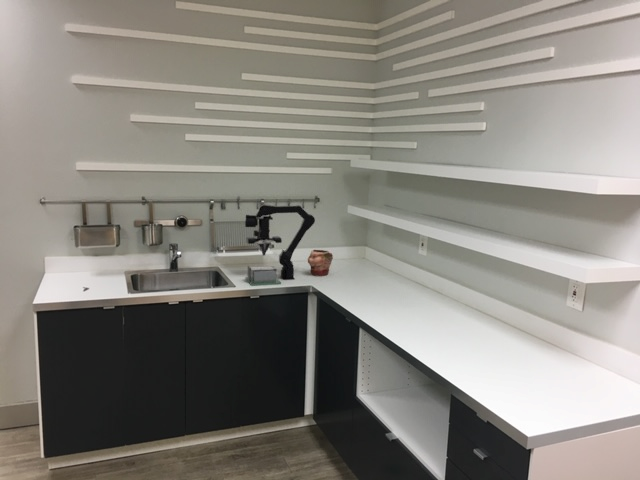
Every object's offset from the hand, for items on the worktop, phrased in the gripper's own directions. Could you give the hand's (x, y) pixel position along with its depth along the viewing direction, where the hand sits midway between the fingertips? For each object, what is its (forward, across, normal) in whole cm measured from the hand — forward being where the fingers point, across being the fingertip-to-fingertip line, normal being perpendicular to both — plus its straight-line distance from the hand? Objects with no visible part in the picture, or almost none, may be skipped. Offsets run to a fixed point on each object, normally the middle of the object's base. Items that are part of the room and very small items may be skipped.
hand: (263, 255), depth 287 cm
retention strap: (+6, +2, +7) cm, 10 cm away
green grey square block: (+13, +2, +7) cm, 15 cm away
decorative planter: (+13, -35, -3) cm, 38 cm away
